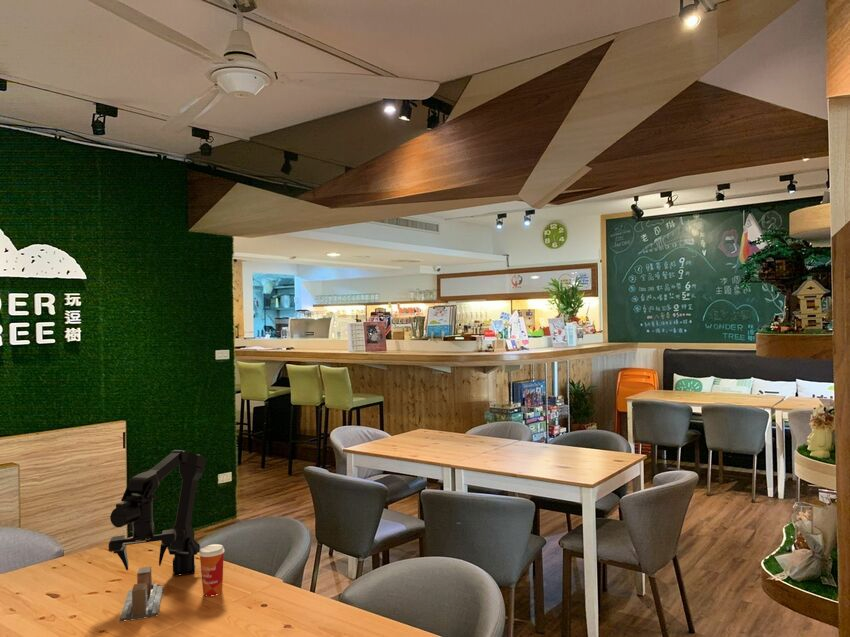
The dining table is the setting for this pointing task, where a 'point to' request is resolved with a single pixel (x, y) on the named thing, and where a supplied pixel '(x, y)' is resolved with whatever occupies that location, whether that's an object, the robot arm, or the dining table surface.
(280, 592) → the dining table surface
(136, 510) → the robot arm
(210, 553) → the paper cup
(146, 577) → the tan wooden block
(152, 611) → the rail
